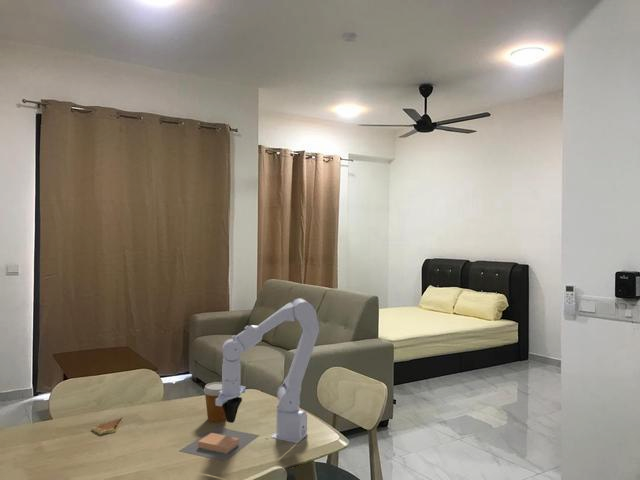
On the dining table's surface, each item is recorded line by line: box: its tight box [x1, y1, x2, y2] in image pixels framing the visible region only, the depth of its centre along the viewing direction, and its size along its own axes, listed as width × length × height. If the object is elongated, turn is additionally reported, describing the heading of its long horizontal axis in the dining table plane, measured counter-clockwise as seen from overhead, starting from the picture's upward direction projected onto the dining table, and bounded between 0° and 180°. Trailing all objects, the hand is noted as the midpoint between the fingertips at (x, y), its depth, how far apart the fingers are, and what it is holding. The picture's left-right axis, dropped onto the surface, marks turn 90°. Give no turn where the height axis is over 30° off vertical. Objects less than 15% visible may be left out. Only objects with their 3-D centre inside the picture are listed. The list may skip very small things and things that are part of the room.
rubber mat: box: [178, 426, 260, 462], centre depth 153 cm, size 16×20×1 cm
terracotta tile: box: [198, 433, 239, 454], centre depth 150 cm, size 10×2×7 cm
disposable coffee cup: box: [203, 381, 227, 424], centre depth 173 cm, size 10×10×12 cm
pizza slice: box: [91, 417, 123, 435], centre depth 164 cm, size 11×8×2 cm
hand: (230, 421), depth 156 cm, fingers closed
